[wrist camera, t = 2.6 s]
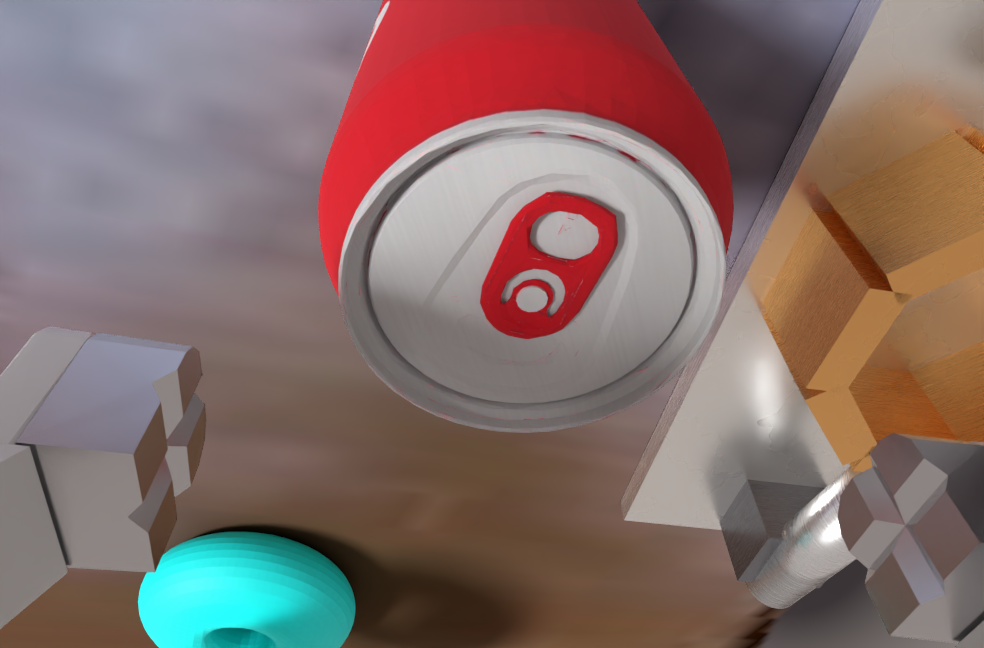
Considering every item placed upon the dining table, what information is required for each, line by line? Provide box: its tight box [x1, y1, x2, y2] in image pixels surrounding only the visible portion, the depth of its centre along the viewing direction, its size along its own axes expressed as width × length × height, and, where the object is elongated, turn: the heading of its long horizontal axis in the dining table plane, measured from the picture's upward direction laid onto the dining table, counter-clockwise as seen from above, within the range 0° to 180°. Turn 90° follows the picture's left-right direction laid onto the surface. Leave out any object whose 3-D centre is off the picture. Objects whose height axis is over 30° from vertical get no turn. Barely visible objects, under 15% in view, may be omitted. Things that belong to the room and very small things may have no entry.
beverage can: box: [318, 0, 734, 433], centre depth 14 cm, size 6×6×12 cm
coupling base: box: [621, 0, 984, 609], centre depth 21 cm, size 28×12×6 cm, turn 170°
